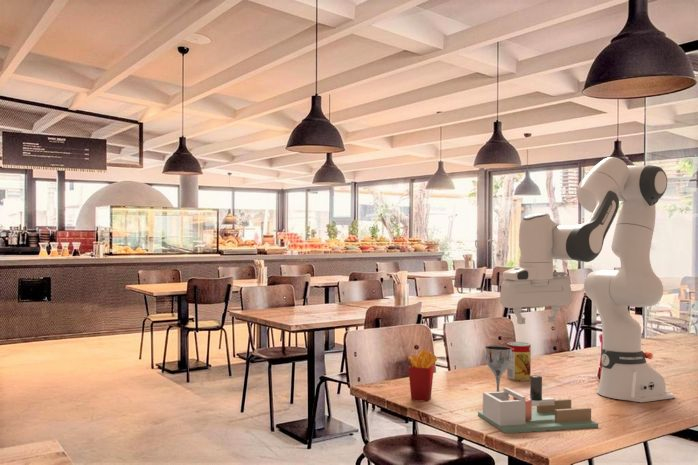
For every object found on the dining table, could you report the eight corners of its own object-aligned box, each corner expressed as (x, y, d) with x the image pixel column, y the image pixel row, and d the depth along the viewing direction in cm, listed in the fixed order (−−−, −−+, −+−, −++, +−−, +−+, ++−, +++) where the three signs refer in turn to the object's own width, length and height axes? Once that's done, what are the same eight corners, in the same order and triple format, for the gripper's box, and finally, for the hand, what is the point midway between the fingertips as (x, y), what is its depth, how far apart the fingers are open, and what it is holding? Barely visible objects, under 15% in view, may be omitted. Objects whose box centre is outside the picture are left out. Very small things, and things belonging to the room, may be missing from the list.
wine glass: (512, 394, 191) (512, 346, 191) (510, 400, 183) (510, 350, 183) (486, 392, 193) (486, 344, 193) (483, 398, 186) (483, 348, 186)
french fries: (407, 400, 183) (407, 349, 183) (414, 393, 190) (414, 345, 191) (436, 403, 179) (436, 352, 180) (442, 396, 187) (442, 347, 187)
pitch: (563, 410, 173) (563, 382, 173) (598, 427, 157) (598, 396, 158) (478, 415, 167) (478, 386, 167) (505, 433, 152) (505, 401, 152)
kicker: (546, 412, 166) (546, 373, 166) (559, 418, 161) (559, 378, 161) (513, 414, 164) (513, 374, 164) (524, 420, 158) (524, 379, 158)
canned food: (535, 379, 212) (535, 344, 212) (517, 381, 209) (517, 346, 209) (519, 374, 219) (519, 341, 219) (502, 376, 216) (502, 342, 216)
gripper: (563, 270, 173) (563, 319, 173) (497, 272, 168) (497, 323, 168) (576, 272, 167) (577, 322, 167) (508, 274, 162) (509, 326, 162)
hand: (536, 323), depth 167 cm, fingers open, 8 cm apart
